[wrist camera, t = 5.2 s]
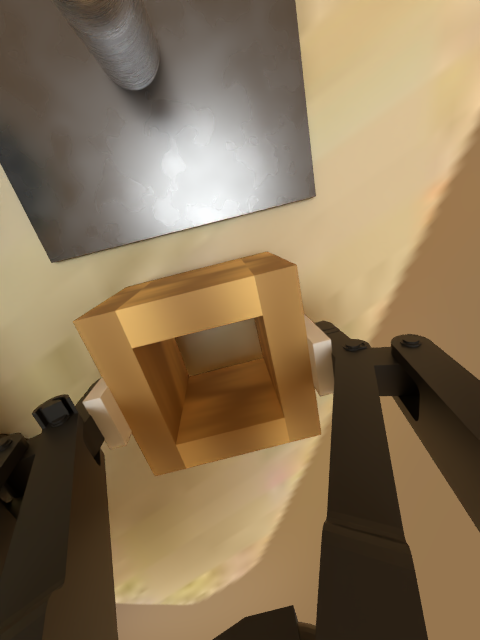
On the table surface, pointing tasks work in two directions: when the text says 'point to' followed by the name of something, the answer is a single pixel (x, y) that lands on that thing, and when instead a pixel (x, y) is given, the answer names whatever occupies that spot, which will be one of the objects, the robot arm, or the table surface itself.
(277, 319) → the square wooden frame
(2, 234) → the table surface
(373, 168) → the table surface
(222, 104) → the post stand
